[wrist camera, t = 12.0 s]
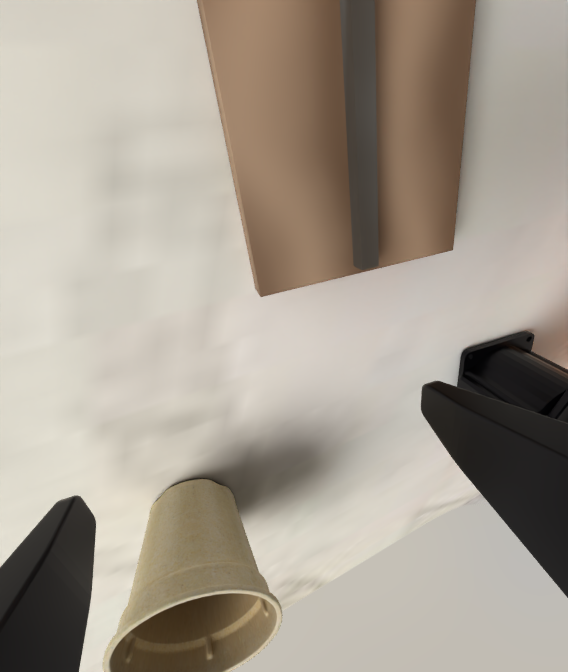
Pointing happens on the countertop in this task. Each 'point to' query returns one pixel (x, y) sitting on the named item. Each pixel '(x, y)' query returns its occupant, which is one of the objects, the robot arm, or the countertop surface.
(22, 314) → the countertop surface
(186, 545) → the flower pot
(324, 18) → the track
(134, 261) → the countertop surface
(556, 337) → the countertop surface
